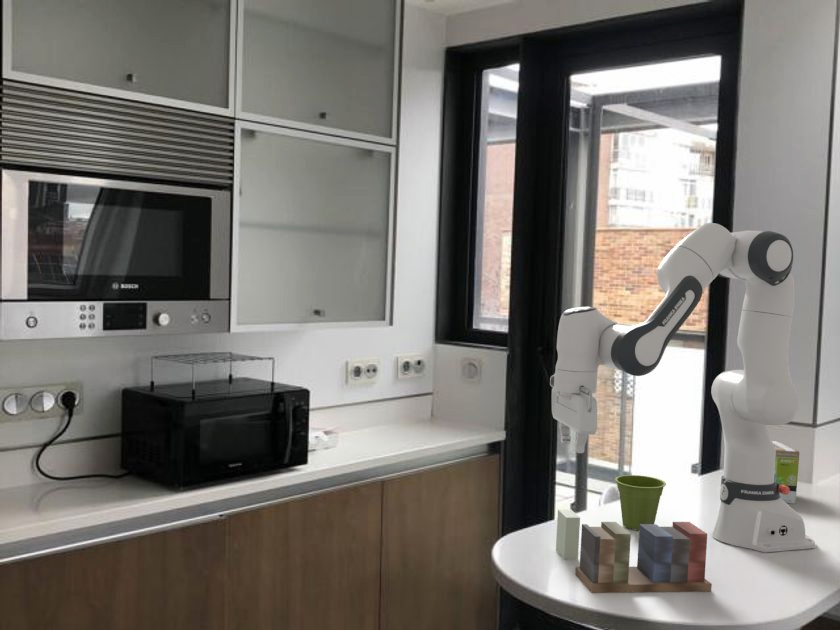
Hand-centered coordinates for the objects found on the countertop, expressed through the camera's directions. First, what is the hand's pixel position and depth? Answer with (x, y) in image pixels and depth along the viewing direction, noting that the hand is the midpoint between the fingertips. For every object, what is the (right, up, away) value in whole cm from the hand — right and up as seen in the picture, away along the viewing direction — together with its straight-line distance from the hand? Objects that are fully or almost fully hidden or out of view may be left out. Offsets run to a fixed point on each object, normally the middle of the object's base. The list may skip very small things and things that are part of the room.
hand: (572, 447), depth 189 cm
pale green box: (-1, -23, +1) cm, 23 cm away
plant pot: (+20, -23, +24) cm, 39 cm away
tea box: (+65, -23, +60) cm, 92 cm away
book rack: (+11, -25, -14) cm, 30 cm away
